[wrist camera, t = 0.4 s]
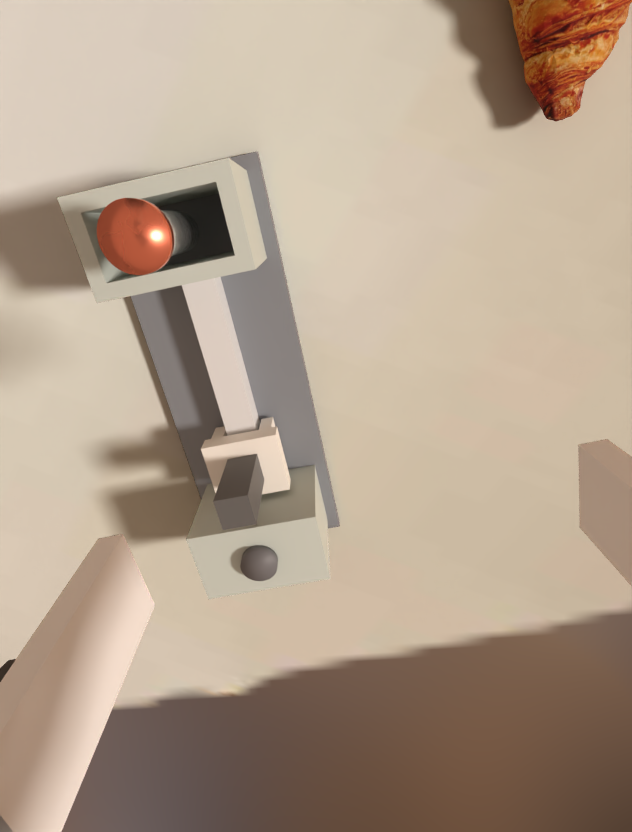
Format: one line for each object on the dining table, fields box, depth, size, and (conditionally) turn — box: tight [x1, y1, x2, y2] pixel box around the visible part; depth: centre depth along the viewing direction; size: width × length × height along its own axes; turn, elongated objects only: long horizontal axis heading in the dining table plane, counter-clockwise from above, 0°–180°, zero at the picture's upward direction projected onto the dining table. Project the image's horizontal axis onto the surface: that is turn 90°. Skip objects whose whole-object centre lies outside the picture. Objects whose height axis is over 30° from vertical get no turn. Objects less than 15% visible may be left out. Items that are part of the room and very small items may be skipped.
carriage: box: [201, 417, 291, 530], centre depth 37 cm, size 5×6×10 cm
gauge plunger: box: [97, 198, 199, 275], centre depth 28 cm, size 4×4×9 cm
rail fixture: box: [57, 152, 340, 599], centre depth 36 cm, size 32×12×10 cm, turn 11°
